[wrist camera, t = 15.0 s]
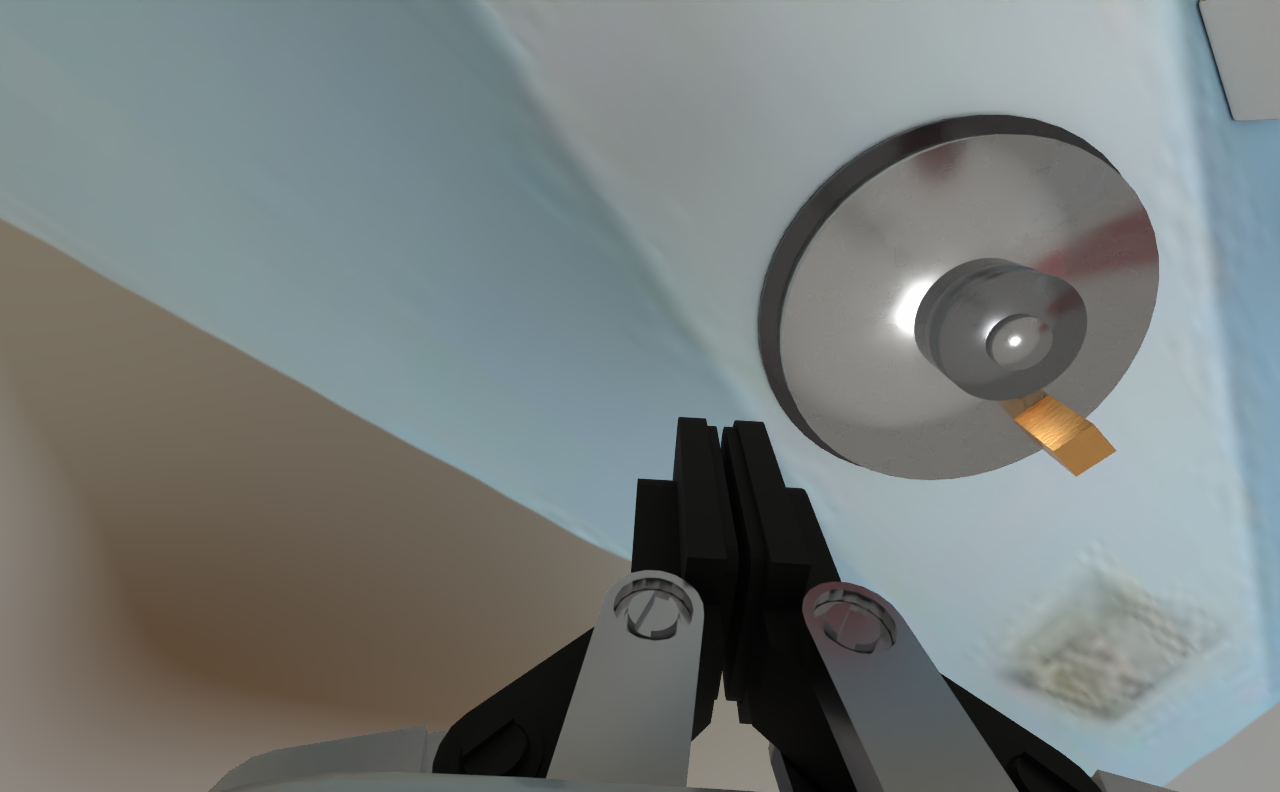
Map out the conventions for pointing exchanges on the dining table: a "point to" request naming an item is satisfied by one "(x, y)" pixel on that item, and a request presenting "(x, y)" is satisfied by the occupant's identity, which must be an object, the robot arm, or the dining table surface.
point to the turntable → (924, 251)
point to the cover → (1000, 327)
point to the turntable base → (841, 185)
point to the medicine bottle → (1246, 54)
